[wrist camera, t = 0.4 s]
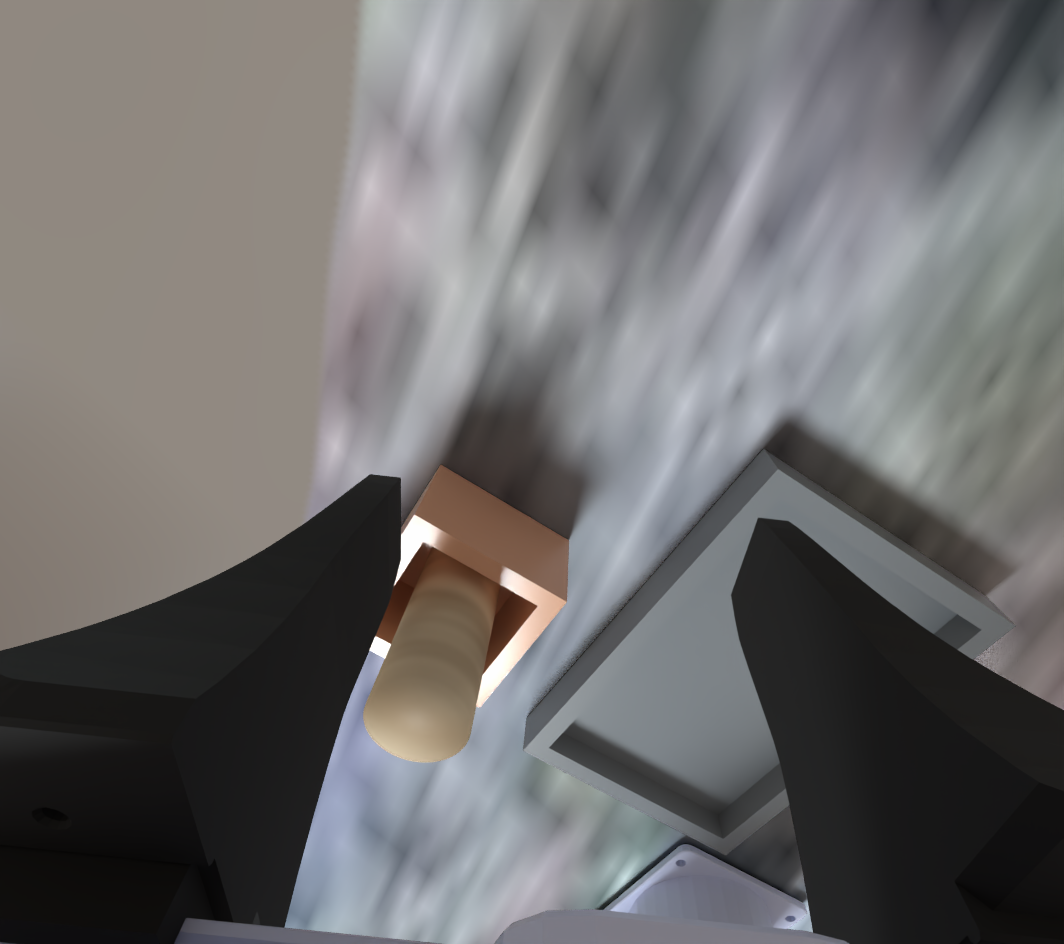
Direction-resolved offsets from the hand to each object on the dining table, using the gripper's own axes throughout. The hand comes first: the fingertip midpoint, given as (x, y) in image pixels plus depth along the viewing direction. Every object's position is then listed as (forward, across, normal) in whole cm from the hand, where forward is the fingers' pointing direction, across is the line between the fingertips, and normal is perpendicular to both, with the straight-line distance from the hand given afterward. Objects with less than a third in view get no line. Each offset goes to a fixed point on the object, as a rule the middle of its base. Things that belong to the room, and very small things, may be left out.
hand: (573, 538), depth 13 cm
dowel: (+9, +3, +8) cm, 12 cm away
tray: (+9, -9, +12) cm, 17 cm away
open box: (+9, +3, +8) cm, 13 cm away
